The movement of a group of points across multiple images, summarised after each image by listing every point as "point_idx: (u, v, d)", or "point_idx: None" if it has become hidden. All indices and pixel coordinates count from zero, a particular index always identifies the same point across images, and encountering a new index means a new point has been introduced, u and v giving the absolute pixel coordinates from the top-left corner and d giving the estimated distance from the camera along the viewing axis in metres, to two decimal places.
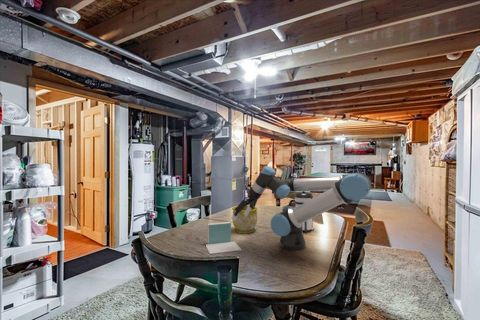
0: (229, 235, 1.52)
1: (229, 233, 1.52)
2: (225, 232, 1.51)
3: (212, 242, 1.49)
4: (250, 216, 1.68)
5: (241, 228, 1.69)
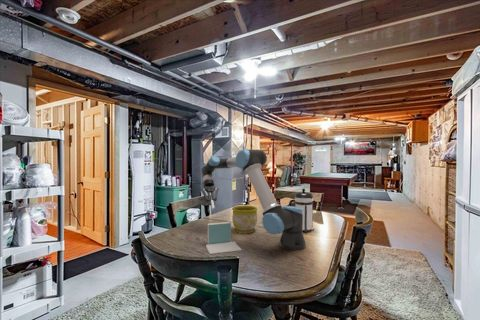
0: (229, 235, 1.52)
1: (229, 233, 1.52)
2: (225, 232, 1.51)
3: (212, 242, 1.49)
4: (250, 216, 1.68)
5: (241, 228, 1.69)
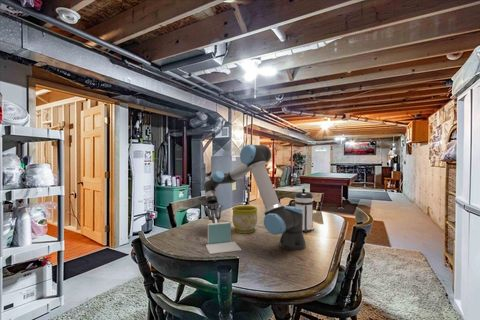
0: (229, 235, 1.52)
1: (229, 233, 1.52)
2: (225, 232, 1.51)
3: (212, 242, 1.49)
4: (250, 216, 1.68)
5: (241, 228, 1.69)
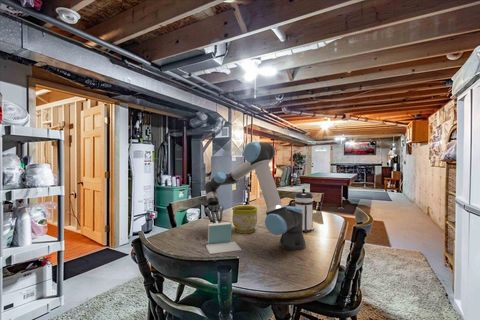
0: (229, 235, 1.51)
1: (229, 234, 1.51)
2: (225, 233, 1.50)
3: (212, 243, 1.49)
4: (250, 216, 1.68)
5: (241, 228, 1.69)
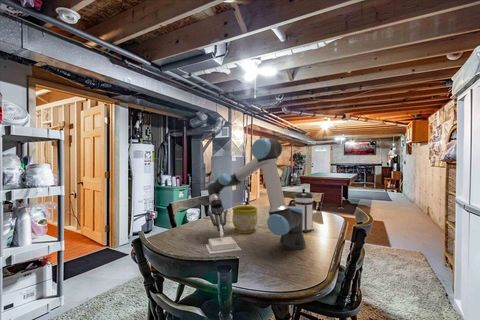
0: None
1: None
2: None
3: None
4: (250, 216, 1.68)
5: (241, 228, 1.69)
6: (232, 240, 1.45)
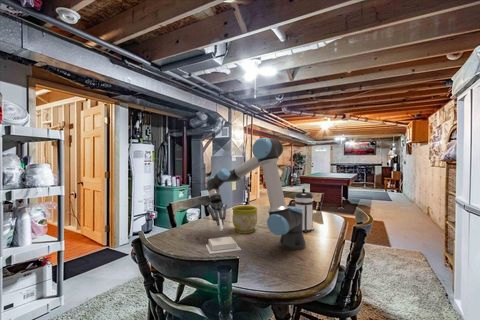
0: None
1: None
2: None
3: None
4: (250, 216, 1.68)
5: (241, 228, 1.69)
6: (232, 240, 1.45)
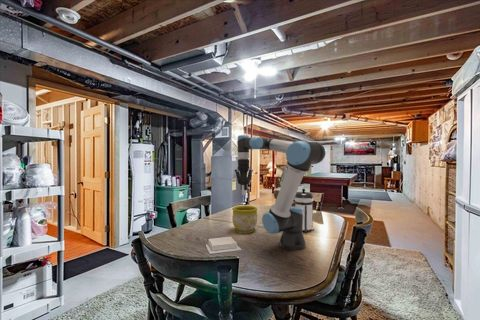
0: None
1: None
2: None
3: None
4: (250, 216, 1.68)
5: (241, 228, 1.69)
6: (232, 240, 1.45)
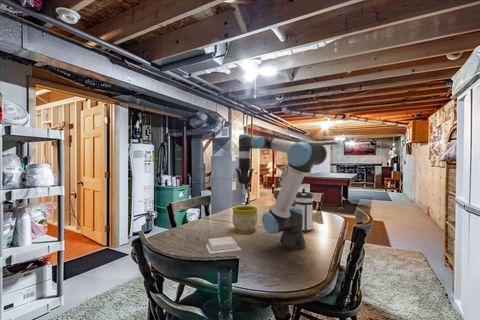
0: None
1: None
2: None
3: None
4: (250, 216, 1.68)
5: (241, 228, 1.69)
6: (232, 240, 1.45)
